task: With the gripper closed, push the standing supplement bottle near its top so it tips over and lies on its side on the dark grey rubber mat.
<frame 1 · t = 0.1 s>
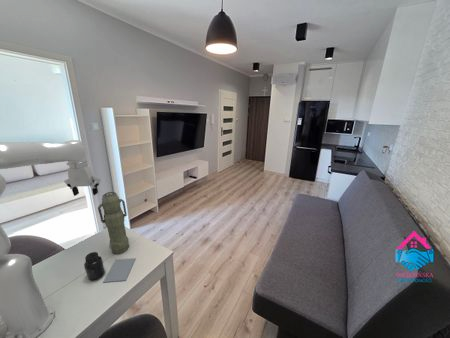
hand: (86, 194, 99), 31 cm above the table, tool pointing down, fingers open, 9 cm apart
thermos: (120, 249, 103), on the table
supplement bottle: (96, 275, 87), on the table
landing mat: (120, 269, 90), on the table
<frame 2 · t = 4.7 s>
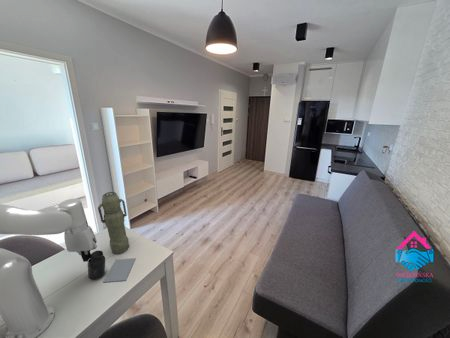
hand: (87, 259, 84), 10 cm above the table, tool pointing down, fingers closed
supplement bottle: (96, 274, 87), on the table, touching gripper
everything else where it was.
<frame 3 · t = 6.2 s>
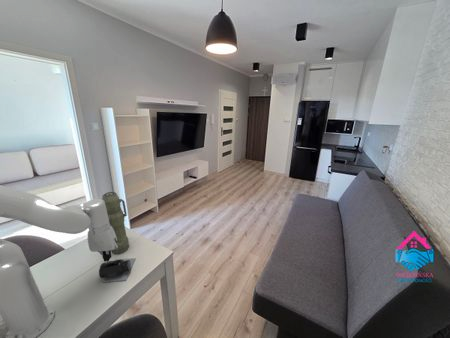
hand: (107, 259, 85), 9 cm above the table, tool pointing down, fingers closed
supplement bottle: (101, 270, 85), point 4 cm above the table, touching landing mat
everything else where it was.
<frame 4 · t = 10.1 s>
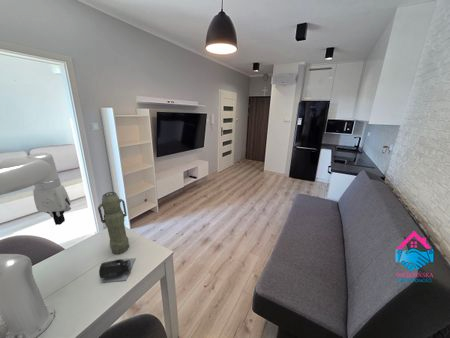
hand: (60, 222, 78), 29 cm above the table, tool pointing down, fingers closed
nothing on the table moved.
at the end: supplement bottle tilted 90°; supplement bottle inside the target area (3.4 cm from its centre), point 3.8 cm above the table; supplement bottle touching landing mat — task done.
